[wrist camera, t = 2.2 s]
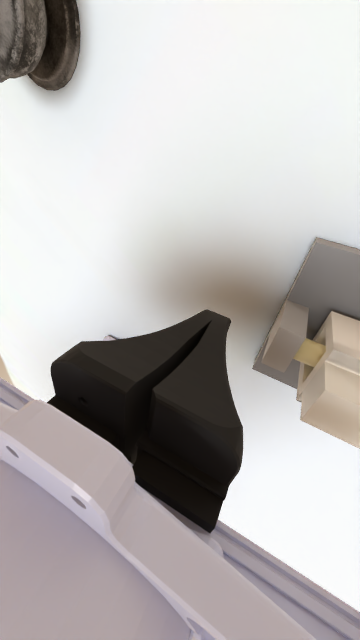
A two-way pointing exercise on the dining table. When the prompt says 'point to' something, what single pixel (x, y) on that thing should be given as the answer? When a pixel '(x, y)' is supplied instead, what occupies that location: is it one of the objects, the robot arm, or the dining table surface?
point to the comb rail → (311, 310)
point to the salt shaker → (39, 41)
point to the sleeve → (334, 381)
